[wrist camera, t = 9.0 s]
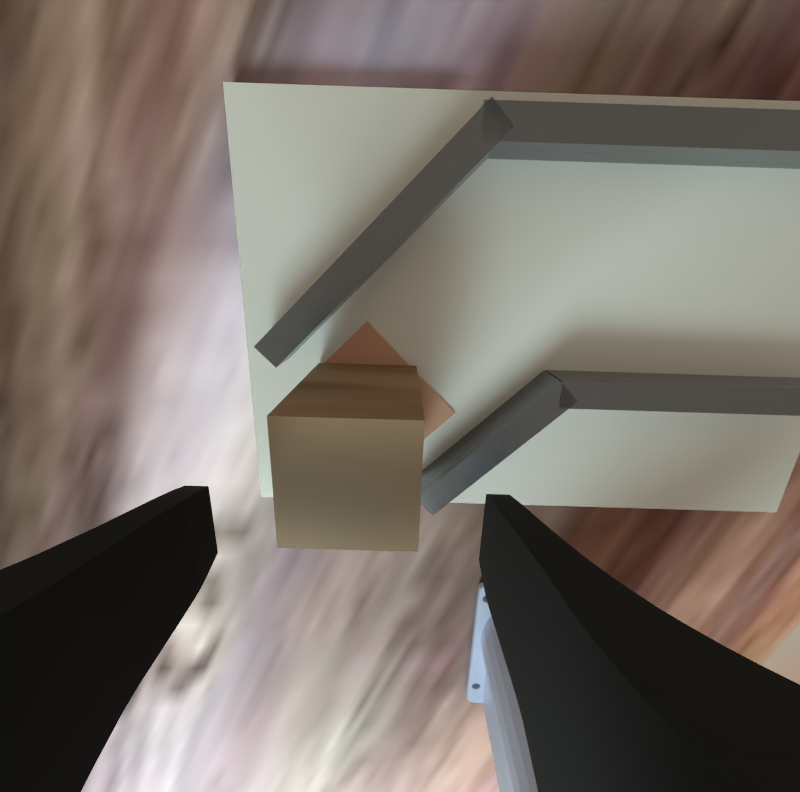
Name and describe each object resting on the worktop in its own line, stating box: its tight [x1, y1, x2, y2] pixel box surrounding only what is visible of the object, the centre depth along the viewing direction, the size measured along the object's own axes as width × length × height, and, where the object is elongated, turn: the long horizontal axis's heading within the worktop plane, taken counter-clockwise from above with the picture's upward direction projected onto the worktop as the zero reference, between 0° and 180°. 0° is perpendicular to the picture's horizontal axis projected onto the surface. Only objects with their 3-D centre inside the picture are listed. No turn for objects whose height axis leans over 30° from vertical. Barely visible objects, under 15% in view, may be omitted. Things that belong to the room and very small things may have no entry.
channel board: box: [223, 82, 800, 512], centre depth 17 cm, size 18×27×1 cm, turn 88°
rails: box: [254, 97, 800, 515], centre depth 16 cm, size 16×25×2 cm, turn 88°
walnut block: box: [267, 363, 425, 552], centre depth 15 cm, size 4×4×7 cm
